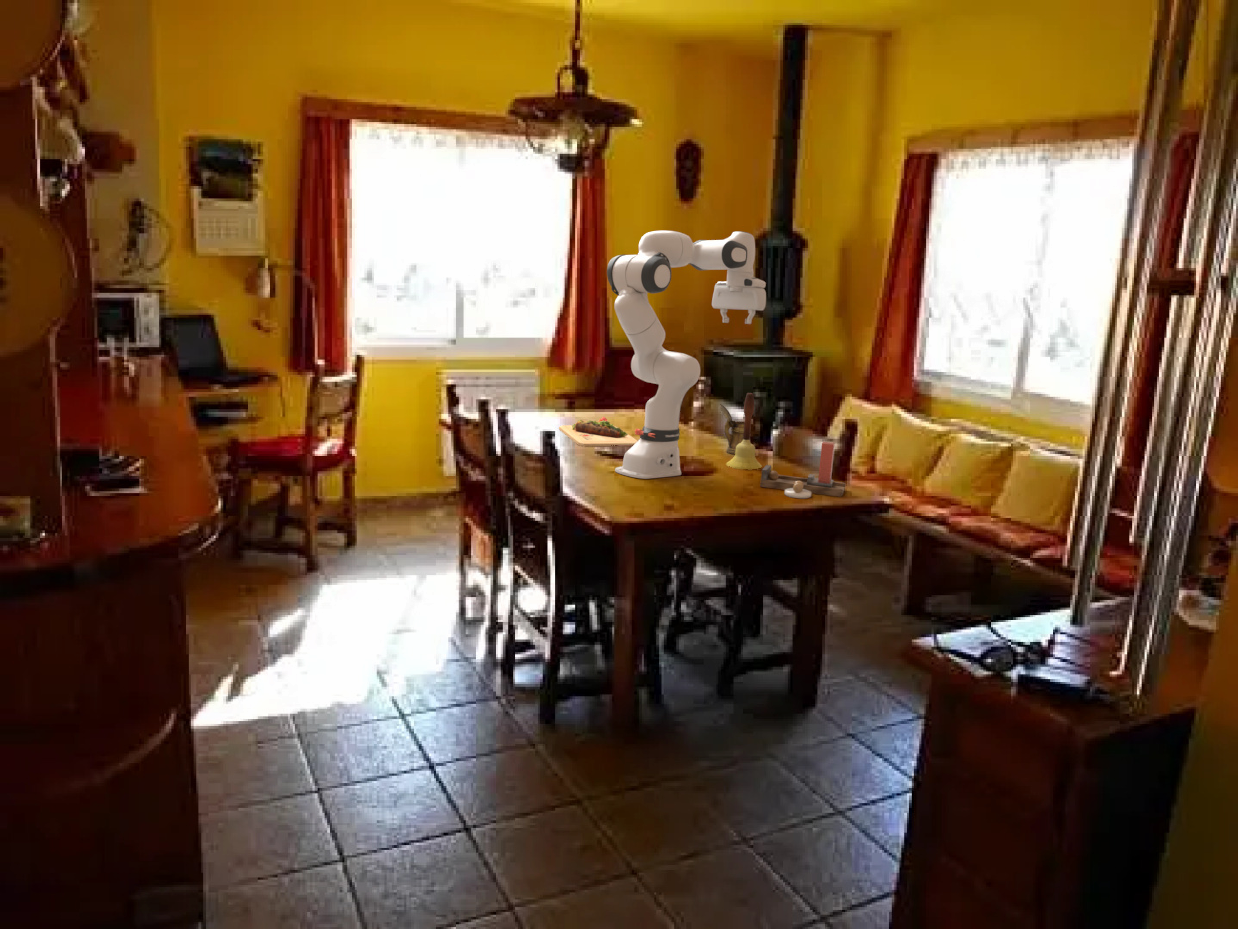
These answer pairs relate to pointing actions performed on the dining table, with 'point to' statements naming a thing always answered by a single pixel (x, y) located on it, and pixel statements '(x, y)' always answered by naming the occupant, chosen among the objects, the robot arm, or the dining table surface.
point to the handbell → (746, 441)
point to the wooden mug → (736, 431)
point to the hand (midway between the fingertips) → (736, 323)
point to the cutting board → (597, 434)
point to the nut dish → (797, 495)
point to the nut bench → (785, 482)
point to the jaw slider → (824, 467)
